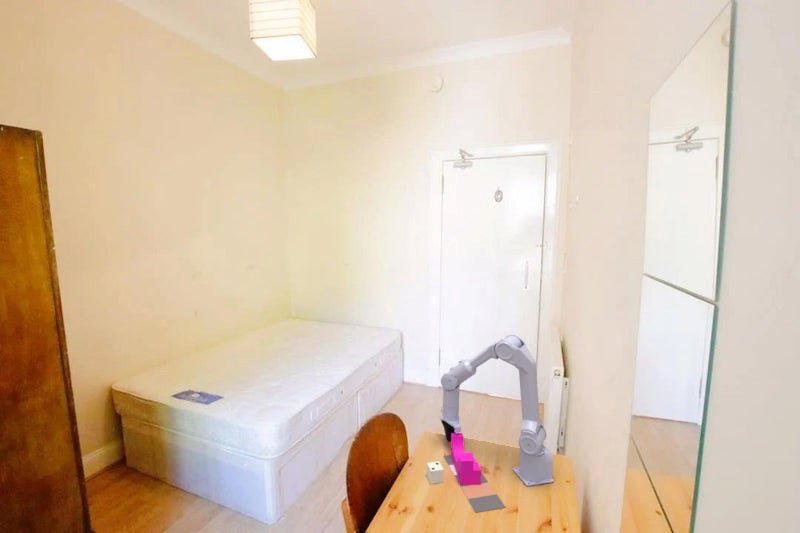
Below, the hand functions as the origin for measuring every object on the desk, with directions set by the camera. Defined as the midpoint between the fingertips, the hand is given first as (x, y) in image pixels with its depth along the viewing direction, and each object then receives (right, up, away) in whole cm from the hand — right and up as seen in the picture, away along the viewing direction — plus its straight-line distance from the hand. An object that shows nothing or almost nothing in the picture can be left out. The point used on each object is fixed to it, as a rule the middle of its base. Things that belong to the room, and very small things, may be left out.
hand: (449, 440), depth 124 cm
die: (-7, -3, -18) cm, 19 cm away
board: (+4, -3, -18) cm, 18 cm away
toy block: (+3, -3, -13) cm, 13 cm away
